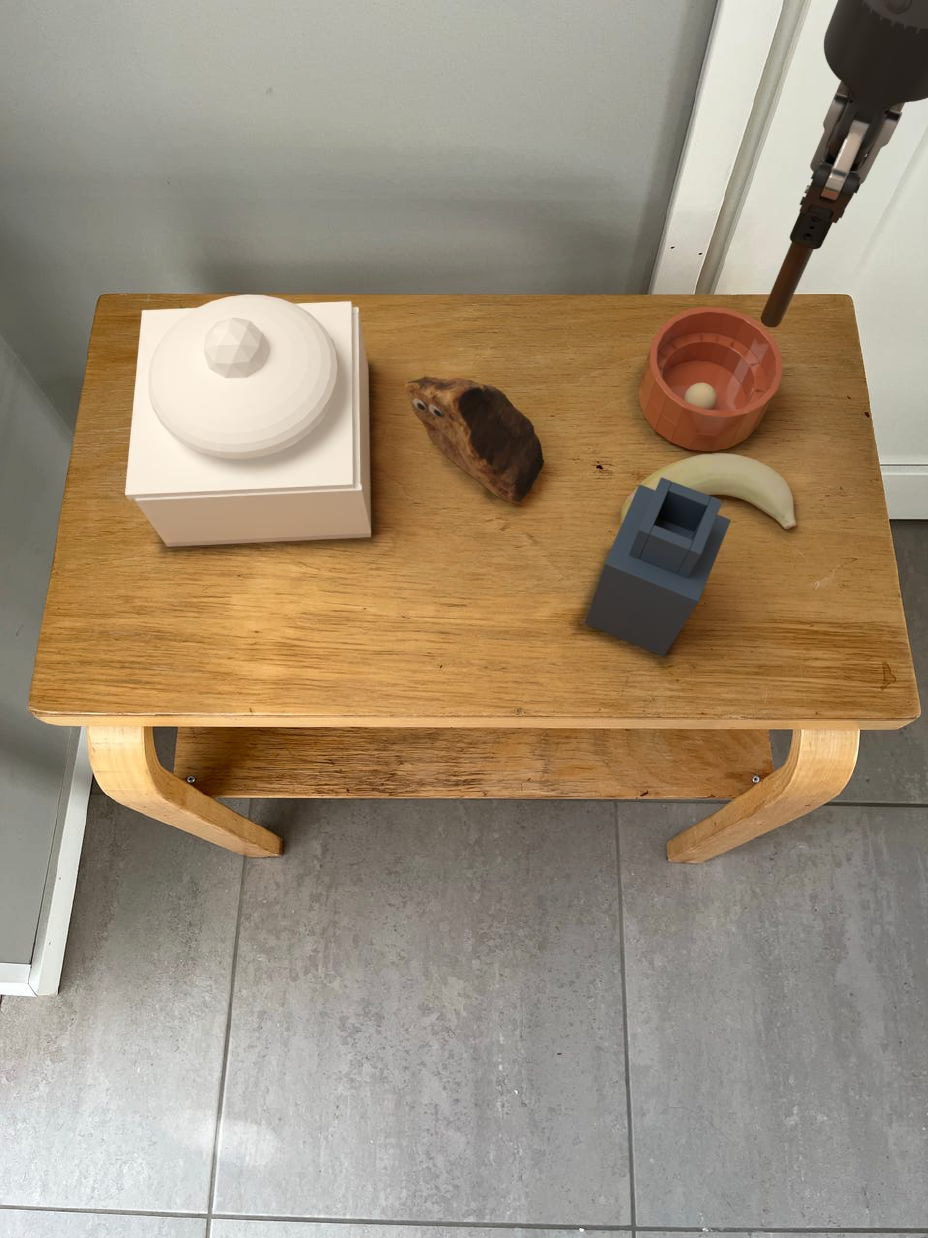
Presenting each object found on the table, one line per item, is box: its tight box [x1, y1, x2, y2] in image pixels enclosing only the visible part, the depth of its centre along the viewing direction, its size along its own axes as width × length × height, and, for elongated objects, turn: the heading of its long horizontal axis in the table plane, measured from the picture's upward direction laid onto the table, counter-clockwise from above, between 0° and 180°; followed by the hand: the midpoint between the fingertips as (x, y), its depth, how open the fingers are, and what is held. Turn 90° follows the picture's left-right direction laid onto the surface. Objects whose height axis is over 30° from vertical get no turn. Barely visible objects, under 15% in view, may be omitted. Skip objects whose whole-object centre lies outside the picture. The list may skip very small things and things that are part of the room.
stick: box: [760, 241, 815, 328], centre depth 64 cm, size 2×2×14 cm
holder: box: [583, 477, 731, 657], centre depth 68 cm, size 7×7×16 cm
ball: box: [684, 383, 717, 410], centre depth 81 cm, size 3×3×3 cm
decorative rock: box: [404, 375, 545, 505], centre depth 76 cm, size 12×6×11 cm, turn 52°
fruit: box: [620, 452, 797, 530], centre depth 78 cm, size 7×15×3 cm, turn 96°
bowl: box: [638, 306, 784, 452], centre depth 80 cm, size 11×11×6 cm
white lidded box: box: [124, 294, 372, 548], centre depth 74 cm, size 18×18×16 cm
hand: (809, 229), depth 63 cm, fingers closed on stick, 1 cm apart
